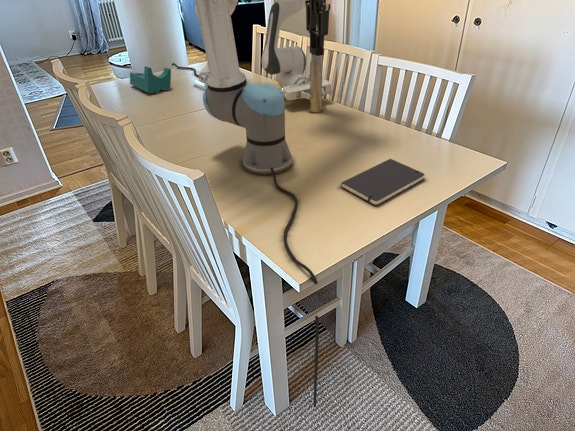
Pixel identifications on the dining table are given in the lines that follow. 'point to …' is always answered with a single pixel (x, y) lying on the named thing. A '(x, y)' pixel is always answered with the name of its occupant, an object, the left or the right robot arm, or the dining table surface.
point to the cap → (313, 50)
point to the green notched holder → (151, 80)
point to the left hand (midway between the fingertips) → (317, 95)
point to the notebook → (382, 181)
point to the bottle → (316, 84)
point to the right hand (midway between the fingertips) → (316, 53)
